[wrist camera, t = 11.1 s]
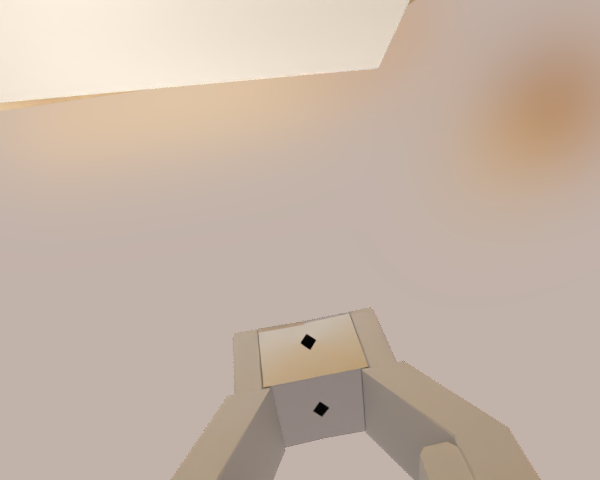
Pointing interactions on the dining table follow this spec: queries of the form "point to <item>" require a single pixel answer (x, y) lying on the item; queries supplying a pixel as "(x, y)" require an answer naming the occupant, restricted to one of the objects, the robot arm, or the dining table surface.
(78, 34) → the lid
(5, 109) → the dining table surface
